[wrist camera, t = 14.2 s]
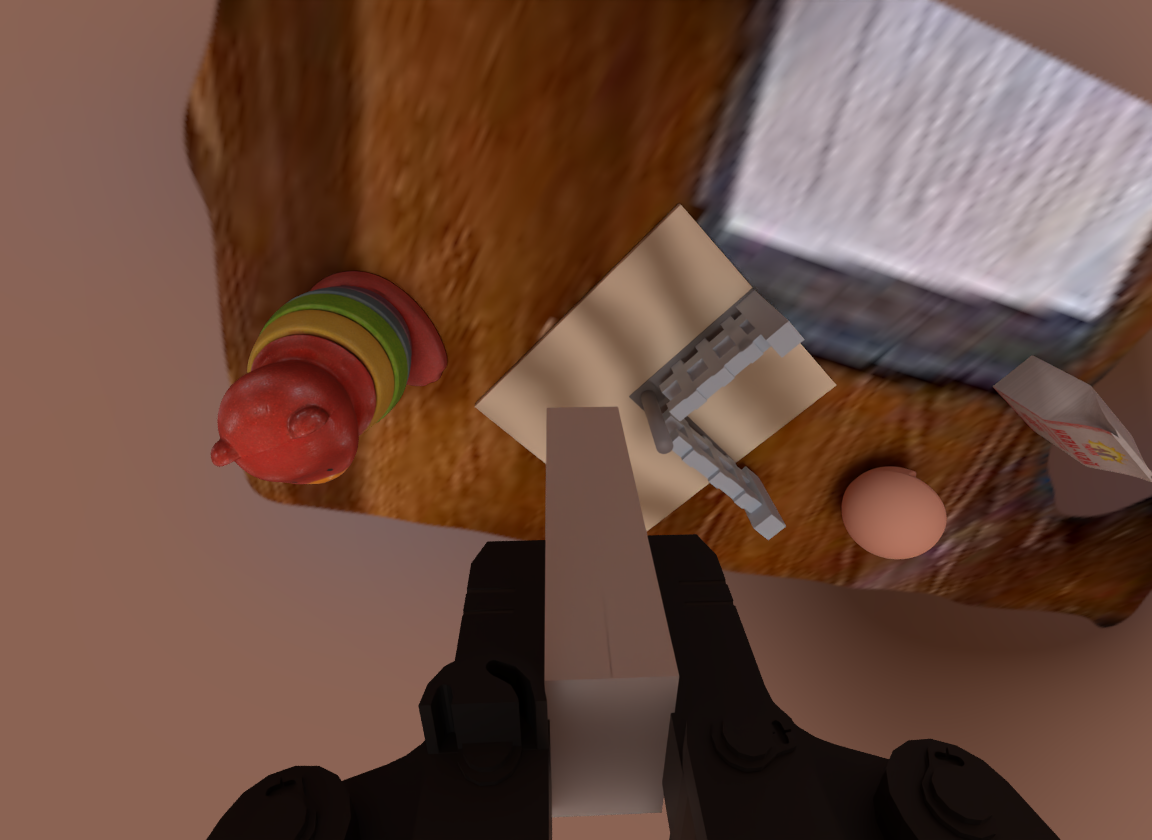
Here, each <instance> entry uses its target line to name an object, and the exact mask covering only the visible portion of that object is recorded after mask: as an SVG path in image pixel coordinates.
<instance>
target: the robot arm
mask: <svg viewBox="0 0 1152 840" xmlns="http://www.w3.org/2000/svg"><path fill="white" fill-rule="evenodd" d="M463 611H464V612H463V613H464V614H463V616H462V621H461V627H460V633H459V639H458V645H457V651H456V657H455V661H454V662H452V663H450V664H448V665H446V666H445V667H443V669H442V670H441V671H440V672H439V673H438V674H437V675H436V676H435V677H434V678H433V679H432V680H431V681H430V682H429V683H428V685H427V687H426V689H425V692H424V694H423V696H422V699H421V701H420V703H419V711H420V715H421V721H422V726H423V731H424V736H425V741H424V742H423V743H422V744H421V745H419V746H418V747H417V748H415V749H414V750H413V751H411V752H410V753H409V754H407V755H406V756H404V757H402V758H400V759H398V760H396V761H393V762H391V763H389V764H387V765H384V766H382V767H379V768H376V769H373V770H371V771H368V772H365V773H363V774H360V775H357V776H354V777H352V778H349V779H346V780H344V781H341V779H340V778H339V776H338V775H336V774H334V773H332V772H330V771H328V770H326V769H324V768H322V767H320V766H294V767H291V768H288V769H285V770H282V771H280V772H276V773H274V774H271V775H268V776H267V777H265V778H264V779H263V780H261V781H260V782H258V783H257V784H255V785H254V786H253V787H251V788H250V789H248V790H247V791H245V792H244V793H243V794H242V795H241V796H240V797H239V798H238V800H236V802H235V803H234V804H233V805H232V806H231V808H229V810H228V811H227V812H226V813H225V814H224V815H223V816H222V818H221V819H220V820H219V822H218V823H217V825H216V826H215V828H214V829H213V831H212V832H211V834H210V835H209V837H208V838H207V840H552V817H569V816H590V815H591V816H592V815H616V814H639V813H661V812H662V805H663V798H665V804H666V810H667V816H668V822H669V828H670V839H669V840H1060V839H1059V838H1058V836H1057V835H1056V834H1055V833H1054V832H1053V831H1052V830H1051V829H1050V828H1049V826H1047V824H1046V823H1045V822H1044V821H1043V820H1042V819H1041V818H1040V817H1039V816H1038V814H1037V813H1036V812H1035V811H1034V810H1033V809H1032V808H1031V807H1030V806H1029V805H1028V804H1027V802H1026V801H1025V800H1024V799H1023V798H1022V797H1021V796H1020V795H1019V794H1018V793H1017V792H1016V790H1015V789H1014V788H1013V787H1012V786H1011V785H1010V784H1009V783H1008V782H1007V781H1006V780H1005V779H1004V778H1003V777H1002V776H1000V775H999V774H998V773H997V772H995V770H994V769H992V768H991V767H990V766H989V765H988V764H987V763H986V762H984V761H983V760H981V759H980V758H978V757H976V756H974V755H972V754H970V753H969V752H967V751H965V750H963V749H962V748H960V747H958V746H956V745H952V744H948V743H944V742H941V741H937V740H933V739H921V740H909V741H907V742H905V743H904V744H902V745H901V746H899V747H898V748H896V749H895V750H893V752H892V754H891V756H890V759H886V758H882V757H879V756H875V755H871V754H868V753H864V752H860V751H857V750H853V749H849V748H846V747H842V746H839V745H835V744H832V743H830V742H827V741H824V740H821V739H819V738H816V737H814V736H813V735H811V734H809V733H808V732H806V731H804V730H803V729H801V728H799V727H798V726H797V725H796V724H794V722H793V721H792V719H791V718H790V717H789V716H788V715H787V714H786V713H784V712H783V711H782V710H781V709H780V708H779V707H778V706H777V705H776V704H775V703H774V702H773V701H772V699H771V697H770V695H769V693H768V691H767V689H766V687H765V685H764V682H763V679H762V677H761V674H760V671H759V669H758V666H757V663H756V661H755V658H754V655H753V652H752V650H751V647H750V645H749V642H748V639H747V636H746V634H745V631H744V628H743V625H742V623H741V620H740V617H739V615H738V612H737V609H736V607H735V606H734V605H733V598H732V596H731V593H730V590H729V588H728V585H727V584H726V582H725V577H724V574H723V572H722V569H721V566H720V563H719V561H718V558H717V555H716V554H715V553H714V552H713V551H712V550H711V549H710V548H709V547H708V546H707V545H706V544H705V543H704V542H703V541H702V540H701V539H700V538H699V536H698V535H697V534H693V535H653V536H647V532H646V528H645V523H644V519H643V515H642V510H641V506H640V502H639V497H638V493H637V488H636V484H635V480H634V475H633V471H632V466H631V462H630V458H629V453H628V449H627V444H626V440H625V436H624V431H623V427H622V422H621V418H620V414H619V409H618V406H616V407H557V408H547V418H546V540H532V541H495V542H494V541H493V542H487V543H486V544H485V546H484V547H483V548H482V550H481V551H480V552H479V554H478V555H477V556H476V558H475V559H474V560H473V562H472V563H471V568H470V574H469V580H468V587H467V594H466V598H465V604H464V609H463Z"/></svg>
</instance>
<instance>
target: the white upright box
mask: <svg viewBox="0 0 1152 840" xmlns="http://www.w3.org/2000/svg"><path fill="white" fill-rule="evenodd" d="M993 388H994V389H995V390H996V391H997V392H998V393H999V394H1000V395H1001V396H1002V397H1003V398H1004V400H1005V401H1006V402H1007V403H1008V404H1009V405H1010V406H1011V407H1012V408H1013V409H1014V410H1015V411H1016V413H1017V414H1018V415H1019V416H1020V417H1021V418H1022V419H1023V420H1024V421H1025V422H1026V423H1027V424H1028V426H1029V427H1030V428H1031V429H1032V430H1033V431H1035V432H1036V433H1038V434H1039V435H1041V436H1042V437H1044V438H1045V439H1047V440H1048V441H1050V442H1051V443H1052V444H1054V445H1055V446H1057V447H1059V448H1060V449H1062V450H1063V451H1064V452H1066V453H1067V454H1069V455H1070V456H1072V457H1073V458H1075V459H1076V460H1078V461H1079V462H1081V463H1082V464H1084V465H1085V466H1086V467H1091V468H1097V469H1102V470H1107V471H1112V472H1118V473H1123V474H1127V475H1131V476H1134V477H1138V478H1142V479H1144V480H1147V481H1149V482H1152V479H1151V477H1150V475H1151V476H1152V472H1151V471H1150V470H1149V469H1148V467H1147V466H1146V464H1145V463H1144V461H1143V459H1142V456H1141V454H1140V452H1139V450H1138V448H1137V446H1136V444H1135V442H1134V439H1133V437H1132V435H1131V434H1130V433H1129V432H1128V431H1127V429H1126V428H1125V427H1124V426H1123V424H1122V423H1121V422H1120V421H1119V420H1118V418H1117V417H1116V416H1115V415H1114V413H1113V412H1112V411H1111V410H1110V409H1109V407H1108V406H1107V405H1106V404H1105V402H1104V401H1103V400H1102V399H1101V398H1100V396H1099V395H1098V394H1097V393H1096V392H1095V390H1094V389H1093V388H1092V387H1091V386H1090V385H1088V384H1087V383H1085V382H1083V381H1081V380H1079V379H1077V378H1075V377H1073V376H1071V375H1069V374H1067V373H1066V372H1064V371H1062V370H1060V369H1058V368H1056V367H1054V366H1052V365H1050V364H1048V363H1046V362H1045V361H1043V360H1041V359H1039V358H1037V357H1035V356H1033V355H1032V356H1031V357H1029V358H1028V359H1027V360H1025V361H1024V362H1023V363H1022V364H1020V365H1019V366H1018V367H1017V368H1015V369H1014V370H1013V371H1012V372H1010V373H1009V374H1008V375H1007V376H1005V377H1004V378H1003V379H1002V380H1000V381H999V382H998V383H996V384H995V385H994V386H993Z"/></svg>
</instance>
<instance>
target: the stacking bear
mask: <svg viewBox="0 0 1152 840" xmlns="http://www.w3.org/2000/svg"><path fill="white" fill-rule="evenodd" d="M446 366H447V355H446V352H445V349H444V346H443V343H442V341H441V339H440V337H439V335H438V333H437V331H436V329H435V327H434V325H433V324H432V322H431V321H430V319H429V318H428V317H427V315H426V314H425V313H424V311H423V310H422V309H421V308H420V307H419V306H418V305H417V303H416V302H415V301H414V300H413V299H412V298H411V297H409V296H408V295H407V294H406V293H405V292H404V291H403V290H401V289H400V288H398V287H397V286H395V285H394V284H393V283H391V282H389V281H388V280H386V279H384V278H382V277H380V276H377V275H374V274H371V273H367V272H359V271H347V272H340V273H336V274H333V275H331V276H328V277H326V278H324V279H323V280H321V281H320V282H319V283H317V284H316V285H315V286H314V287H313V288H312V289H311V290H310V292H307V293H304V294H302V295H300V296H297V297H295V298H293V299H292V300H290V301H289V302H287V303H286V304H285V305H283V306H282V307H281V308H280V309H279V310H278V311H277V312H276V313H275V314H274V315H273V316H272V317H271V318H270V319H269V321H268V322H267V323H266V325H265V326H264V328H263V330H262V331H261V333H260V335H259V338H258V339H257V341H256V343H255V345H254V347H253V349H252V352H251V354H250V358H249V361H248V368H247V374H245V375H244V376H242V377H241V378H239V379H238V380H237V381H236V382H235V383H234V384H232V385H231V386H230V388H229V389H228V390H227V392H226V393H225V395H224V397H223V399H222V401H221V405H220V408H219V413H218V431H219V435H220V440H219V441H218V442H217V443H215V445H214V446H213V448H212V450H211V459H212V462H213V463H214V465H216V466H219V467H220V466H224V465H227V464H229V463H231V462H233V461H235V462H236V463H237V464H238V465H239V466H240V467H241V468H242V469H243V470H245V471H246V472H248V473H249V474H251V475H253V476H255V477H257V478H259V479H262V480H266V481H273V482H286V483H294V484H319V483H325V482H328V481H332V480H333V479H335V478H337V477H338V476H340V475H341V474H343V473H344V472H345V471H346V469H347V468H348V467H349V466H350V464H351V463H352V461H353V459H354V457H355V455H356V452H357V448H358V441H359V435H361V434H362V433H363V432H365V431H366V430H368V429H369V428H370V427H372V426H373V425H374V424H375V423H377V422H378V421H380V420H381V419H382V418H384V417H385V416H386V415H387V414H388V413H389V412H390V411H391V410H392V409H393V407H394V406H395V405H396V404H397V402H398V401H399V400H400V398H401V396H402V394H403V392H404V390H405V387H406V384H407V385H413V386H425V385H427V384H428V383H431V382H435V381H437V380H438V379H439V378H440V377H441V375H442V371H443V370H444V369H445V368H446Z"/></svg>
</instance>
